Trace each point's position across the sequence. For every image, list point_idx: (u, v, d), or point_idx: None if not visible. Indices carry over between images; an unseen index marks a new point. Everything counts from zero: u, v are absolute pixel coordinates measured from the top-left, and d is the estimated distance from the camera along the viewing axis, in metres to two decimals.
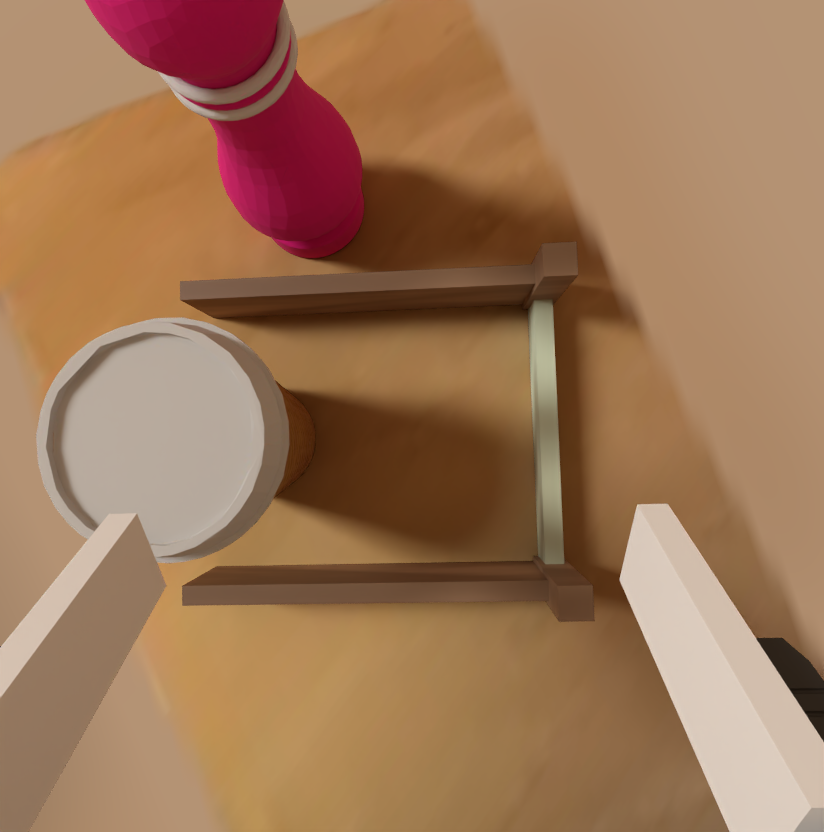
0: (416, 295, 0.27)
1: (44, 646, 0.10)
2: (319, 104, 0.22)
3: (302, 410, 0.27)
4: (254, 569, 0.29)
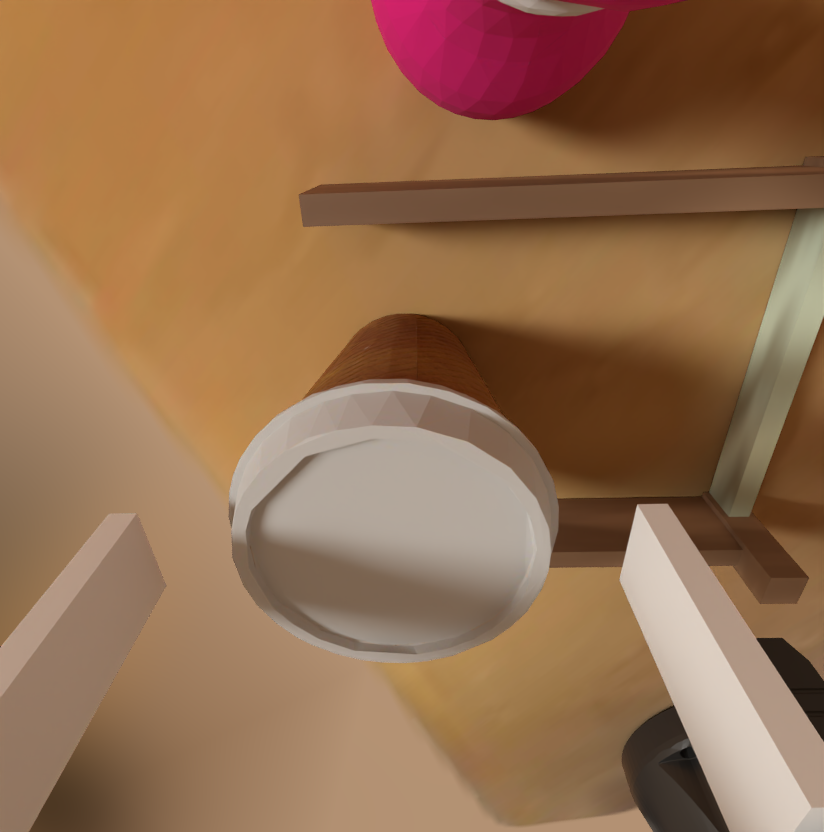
0: None
1: (44, 646, 0.10)
2: None
3: (476, 370, 0.21)
4: None
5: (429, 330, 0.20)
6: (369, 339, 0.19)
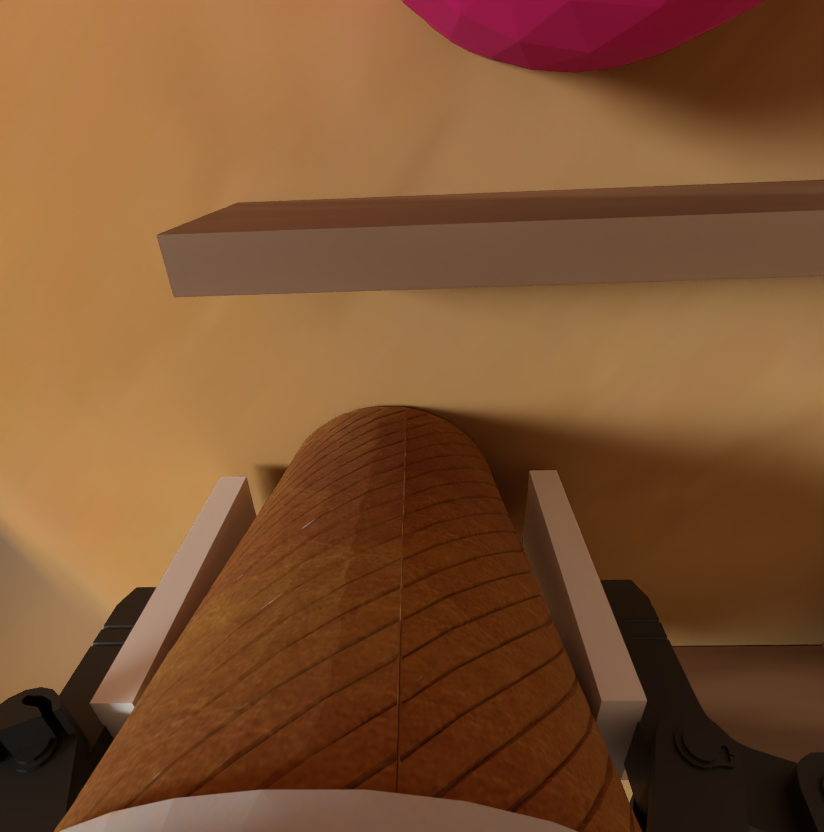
0: None
1: (195, 584, 0.11)
2: None
3: (508, 515, 0.12)
4: None
5: (428, 455, 0.12)
6: (318, 488, 0.10)
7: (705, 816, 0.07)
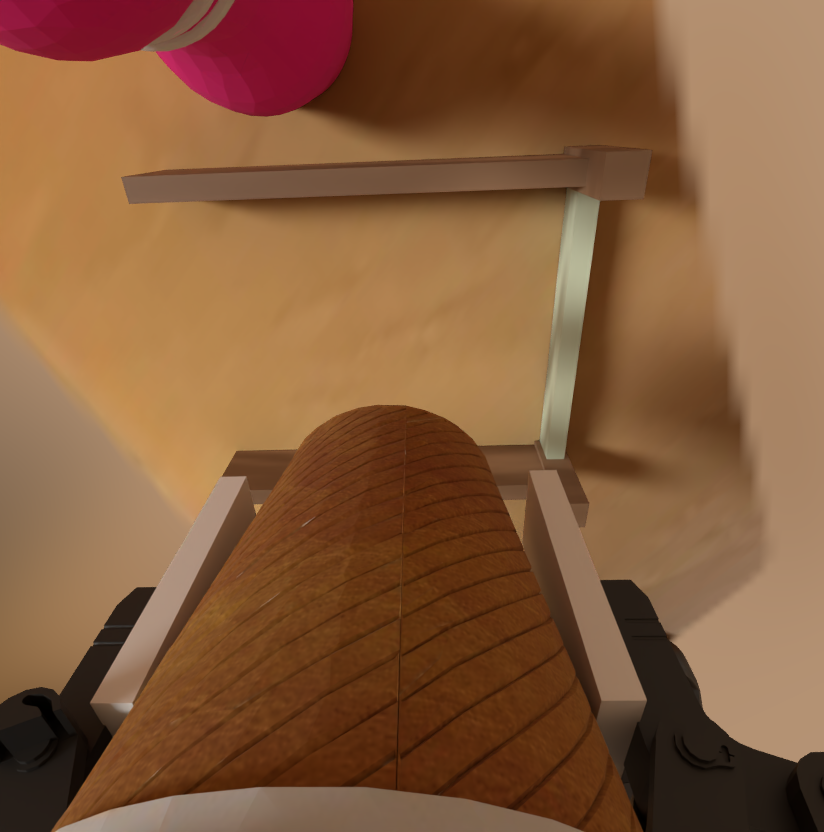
0: None
1: (195, 584, 0.11)
2: None
3: (508, 513, 0.12)
4: (274, 458, 0.31)
5: (428, 453, 0.12)
6: (318, 486, 0.10)
7: (704, 816, 0.07)
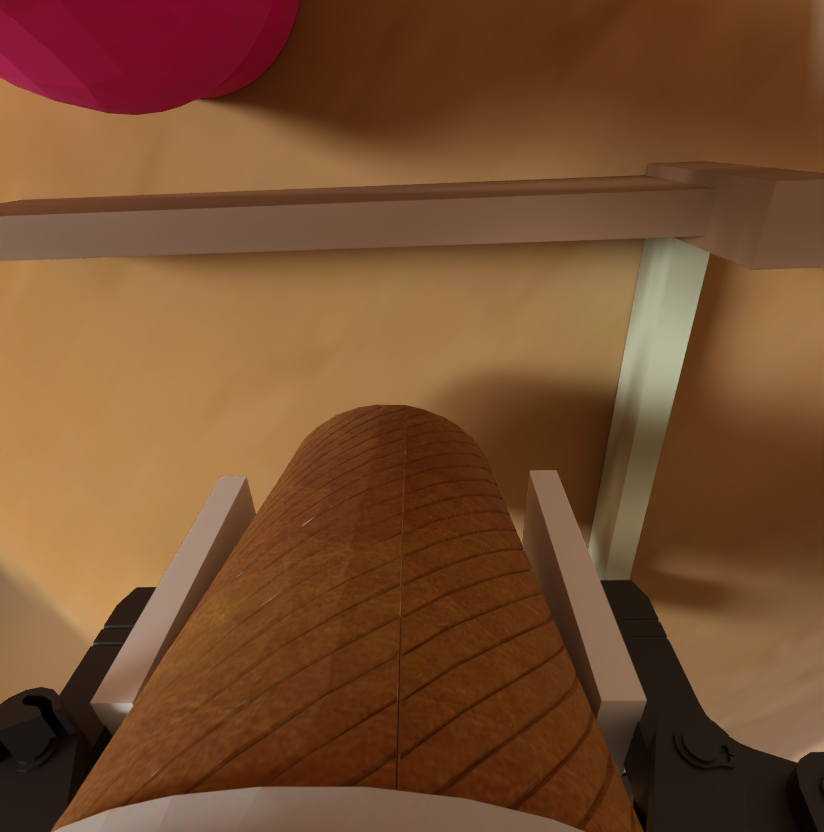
0: None
1: (195, 584, 0.11)
2: None
3: (508, 513, 0.12)
4: None
5: (428, 453, 0.12)
6: (318, 486, 0.10)
7: (705, 817, 0.07)
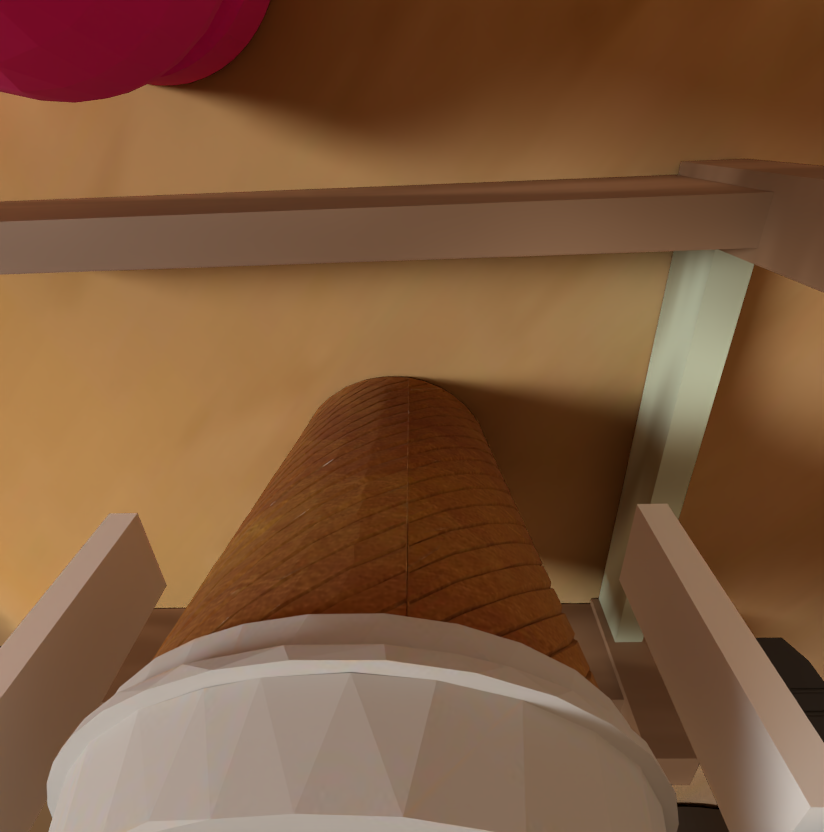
0: None
1: (44, 646, 0.10)
2: None
3: (498, 468, 0.14)
4: None
5: (428, 414, 0.13)
6: (334, 438, 0.12)
7: None
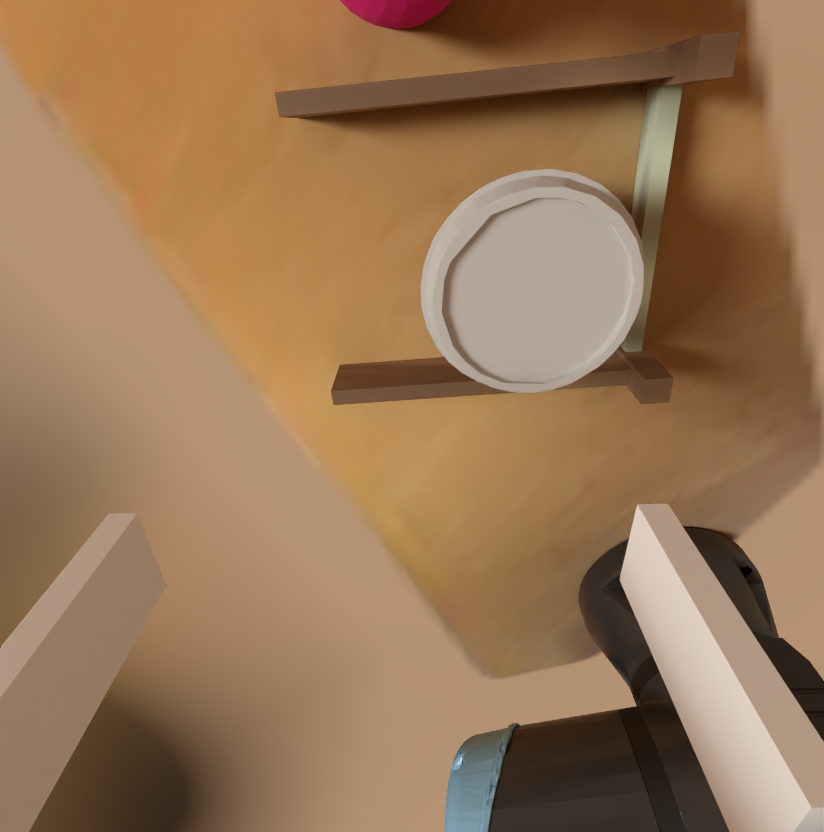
0: (535, 91, 0.25)
1: (44, 646, 0.10)
2: None
3: None
4: (375, 367, 0.34)
5: None
6: None
7: None
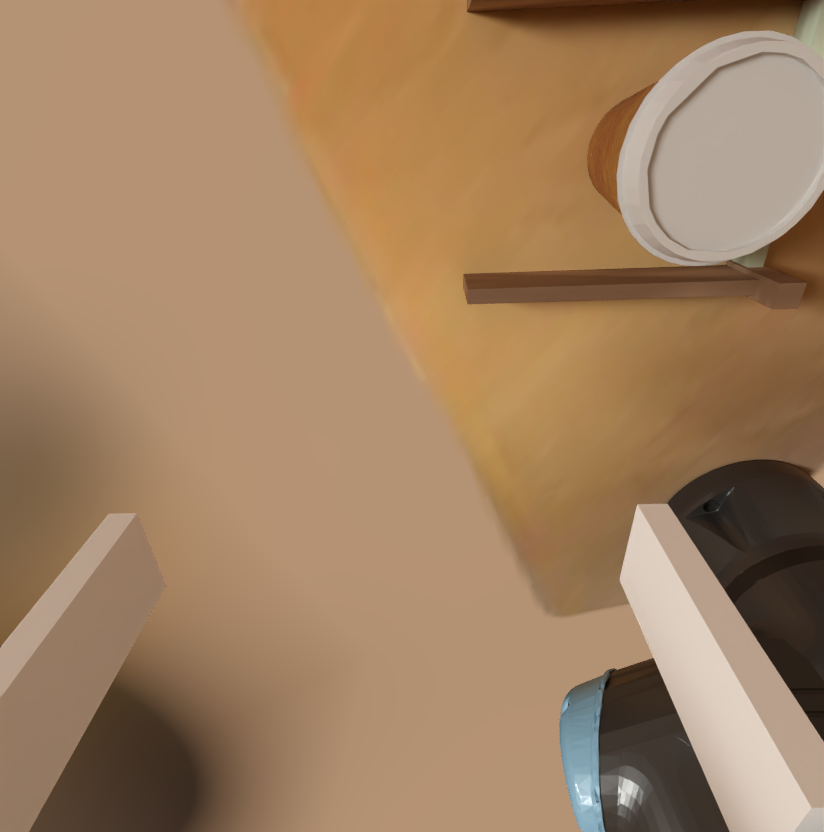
0: None
1: (44, 646, 0.10)
2: None
3: None
4: (501, 275, 0.35)
5: None
6: None
7: None
